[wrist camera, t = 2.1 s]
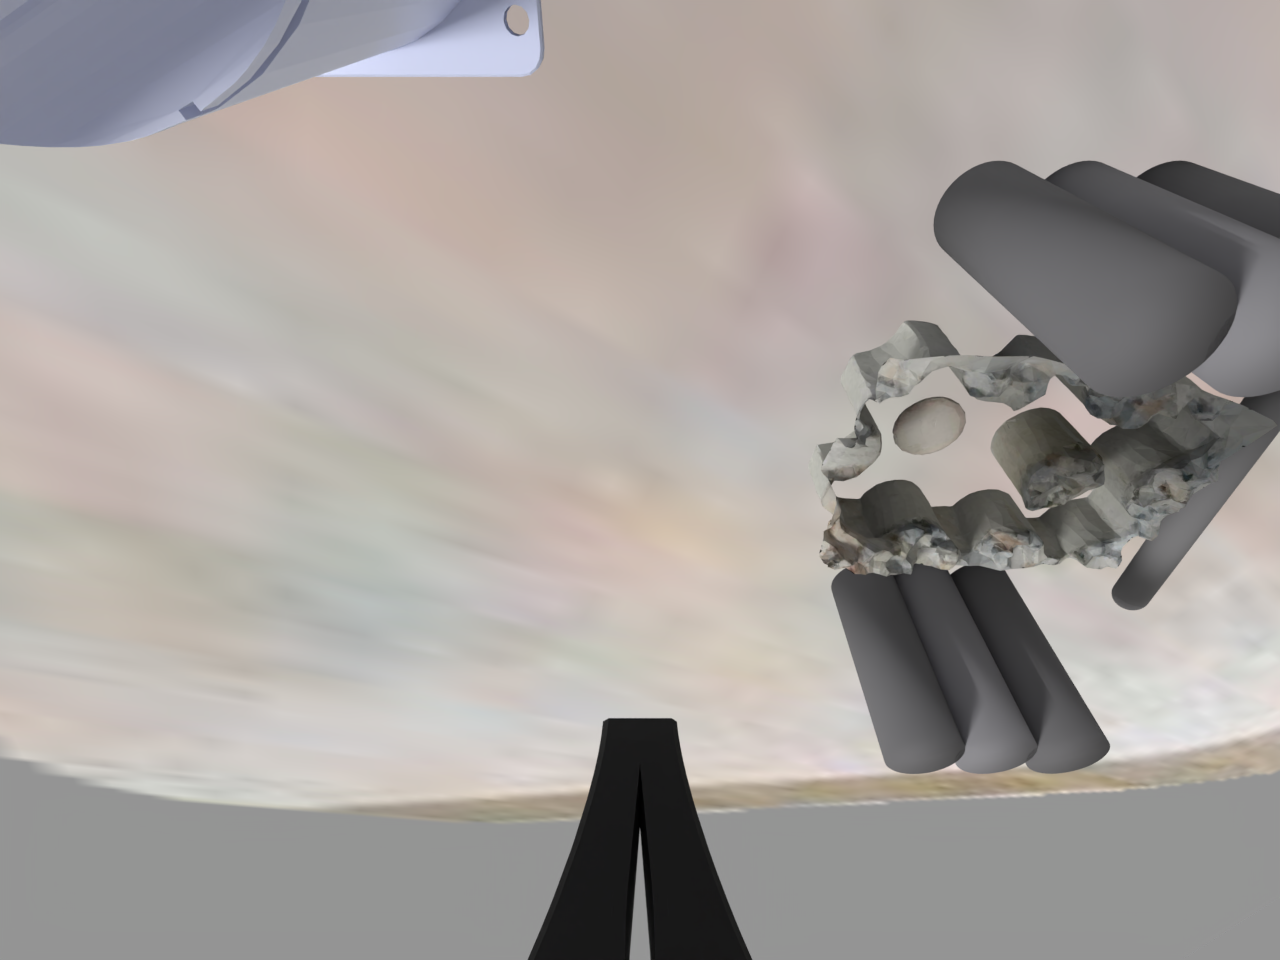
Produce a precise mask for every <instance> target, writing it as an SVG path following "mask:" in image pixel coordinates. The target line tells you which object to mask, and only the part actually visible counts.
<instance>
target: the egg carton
mask: <svg viewBox="0 0 1280 960" xmlns="http://www.w3.org/2000/svg"><path fill="white" fill-rule="evenodd" d="M945 367H949V368H950V369H951V370H952V372H953V373H954V374H955V376H956V377H957V378H958V379H959V380H960V382H961V383H962V385H963V386H964V388H965V389H966V391H967V392H968V393H969V395H970V396H972V397H975V398H976V399H977V400H981V401H987V402H997V403H1004V404H1006V405H1007V406H1009V407H1011V408H1012V410H1013V411H1016V410H1020V409H1021V408H1023V407H1025V406H1026V405H1028V404H1030V403H1032V402H1033V401H1035V400H1037V399H1039V398H1040V397H1042V396H1044V395H1045V394H1046V390H1047V386H1048V383H1049V381H1050V379H1051V378H1052V377H1054V376H1056V377H1057V378H1058V379H1059V380H1060V381H1061V382H1062V383H1063V384H1064V385H1065V386H1066V387H1067V388H1068V389H1069V390H1070V391H1071V392H1072V393H1073V394H1074V395H1075V396H1076V397H1077V398H1078V399H1079V401H1080V402H1081V403H1082V404H1084V406H1085V408H1086V409H1087V411H1088V412H1089V413H1090V415H1092V416H1094V417H1096V418H1098V419H1102V420H1104V421H1105V422H1107V423H1108V424H1109V425H1116V426H1115V427H1113V428H1111V429H1109V430H1107V431H1105V432H1103V433H1102V434H1101V435H1100V436H1099V437H1097V438H1096V439H1095V440H1094V441H1093V443H1092V444H1091V445H1090V444H1089V443H1088V442H1087V441H1086V440H1085V439H1084V438H1083V436H1082V435H1081V434H1080V433H1079V432H1078V431H1077V430H1076V429H1075V428H1074V427H1073V426H1072V425H1071V424H1070V423H1069V422H1068V421H1067V420H1066V419H1065V418H1064V417H1063V416H1062V414H1061V413H1059V412H1058V411H1056V410H1054V409H1050V408H1043V407H1040V408H1034V409H1030V410H1027V411H1024V412H1021V413H1019V414H1017V415H1015V416H1013V417H1012V418H1010V419H1008V420H1006V421H1005V422H1004V423H1003V424H1002V425H1001V426H1000V427H999V428H998V429H997V431H996V432H995V434H994V436H993V438H992V441H991V447H990V449H991V452H992V454H993V456H994V457H995V459H996V460H997V462H998V463H999V464H1000V466H1001V467H1002V469H1003V470H1004V472H1005V473H1006V475H1007V476H1008V478H1009V479H1010V480H1011V482H1012V483H1013V485H1014V486H1015V488H1016V489H1017V491H1018V492H1019V494H1020V495H1021V497H1022V500H1023V503H1024V505H1025V508H1026V509H1027V510H1030V511H1035V510H1039V509H1042V508H1049V509H1048V510H1047V511H1046V512H1045V513H1043V514H1042V515H1041V516H1040V517H1035V518H1026V517H1025V516H1024V514H1023V513H1022V512H1021V510H1020V509H1019V507H1018V506H1017V504H1016V503H1015V502H1014V500H1013V499H1012V497H1011V496H1010V495H1009V494H1008V493H1006V492H1003V491H1001V490H997V489H987V490H980V491H976V492H973V493H970V494H968V495H967V496H965V497H963V498H962V499H960V500H959V501H958V502H956V503H955V504H954V505H953V506H935V507H931V505H930V503H929V501H928V500H927V498H926V497H925V495H924V494H923V492H922V491H921V489H920V488H919V487H918V486H917V485H916V484H914V483H913V482H911V481H907V480H891V481H885V482H882V483H879V484H876V485H875V486H874V487H872V488H871V489H869V490H868V491H866V492H865V493H864V494H863V495H862V496H861V498H859V499H851V498H840V497H837V496H836V494H835V492H834V490H833V488H832V486H831V485H832V484H833V482H834V481H846V480H849V479H852V478H855V477H858V476H859V475H860V474H861V473H862V472H863V471H865V470H866V469H867V468H868V467H869V466H871V465H872V464H873V463H874V462H875V461H876V459H877V458H878V457H879V456H880V454H881V449H882V437H881V432H880V431H879V429H878V427H877V425H876V423H875V421H874V419H873V417H872V415H871V413H870V412H869V410H868V408H867V406H866V404H865V403H866V402H867V401H868V400H869V399H871V400H873V401H875V402H877V403H879V404H880V403H881V402H882V401H884V400H886V399H888V398H892V397H902V396H905V395H908V394H909V393H910V392H911V390H912V389H913V387H914V386H915V385H917V384H919V383H920V382H921V381H922V380H923V379H924V378H925V377H926V376H927V375H929V374H930V373H931V372H932V371H935V370H938V369H941V368H945ZM841 384H842V386H843V388H844V390H845V391H846V393H847V395H848V398H849V400H850V403H851V405H852V406H853V408H854V410H855V412H856V415H857V417H856V421H855V426H854V431H853V432H852V433H851V434H849V435H848V436H846V437H845V438H837V439H836V441H835V442H832V443H825V444H819V445H817V446H816V448H815V450H814V452H813V455H812V457H811V460H810V462H809V465H808V468H809V471H810V474H811V477H812V479H813V482H814V485H815V488H816V492H817V494H818V496H819V498H820V500H821V504H822V506H823V508H825V509H826V510H827V511H829V512H830V513H831V514H832V515H833V517H832V519H831V520H830V521H828V527H827V529H826V530H825V531H824V537H823V542H822V545H821V549H820V552H819V557H820V558H821V560H822V561H823V563H824V564H826V565H828V567H830V568H832V569H834V570H836V569H841V568H847V569H848V570H849V571H851V572H852V573H853V574H863V575H866V574H868V573H876V574H880V575H883V576H886V577H887V576H889V575H897V574H902V573H904V574H910V575H911V573H912V570H913V566H914V564H915V563H917V564H922V565H927V566H932V567H935V568H938V569H943V570H950V569H952V568H953V567H954V566H955V565H961V566H983V567H987V568H991V569H995V570H999V571H1002V570H1009V569H1020V568H1029V567H1035V566H1038V565H1040V564H1047V565H1057V564H1060V563H1061V562H1062V561H1064V560H1065V559H1067V558H1072V559H1076V560H1077V561H1078V562H1079V563H1081V564H1082V565H1083V566H1085V567H1086V568H1092V569H1103V568H1105V567H1111V568H1117V567H1118V566H1119V565H1120V564H1121V562H1122V555H1121V551H1122V547H1123V546H1124V545H1125V544H1126V543H1127V542H1128V541H1130V540H1131V539H1132V538H1133V537H1136V536H1139V537H1142V538H1144V539H1147V540H1150V541H1153V540H1154V539H1155V538H1156V537H1157V536H1158V533H1159V529H1160V525H1161V521H1162V520H1163V518H1164V517H1166V516H1167V515H1170V514H1173V513H1175V512H1179V510H1180V508H1185V507H1186V505H1187V503H1188V501H1189V499H1190V498H1191V497H1192V495H1193V494H1194V493H1195V492H1197V491H1199V490H1201V489H1202V488H1204V487H1206V486H1207V485H1209V484H1210V483H1213V482H1216V481H1218V471H1219V466H1220V462H1221V461H1222V460H1224V459H1226V458H1228V457H1229V456H1231V455H1233V454H1234V453H1236V452H1237V451H1239V450H1241V449H1242V448H1244V447H1246V446H1247V445H1249V444H1251V443H1252V442H1254V441H1255V440H1257V439H1258V438H1260V437H1261V436H1263V435H1264V434H1266V433H1267V432H1269V431H1270V430H1272V429H1273V428H1275V427H1276V426H1277V425H1276V423H1275V422H1274V421H1273V420H1271V419H1269V418H1267V417H1265V416H1263V415H1261V414H1259V413H1257V412H1255V411H1253V410H1251V409H1249V408H1247V407H1245V406H1243V405H1241V404H1238V403H1236V402H1233V401H1230V400H1228V399H1225V398H1222V397H1219V396H1216V395H1213V394H1211V393H1208V392H1206V391H1204V390H1202V389H1201V388H1200V387H1199V386H1197V385H1196V384H1195V383H1194V382H1193V381H1192V380H1190V379H1189V378H1187V377H1186V376H1185V377H1183V378H1182V379H1180V380H1179V381H1177V382H1175V383H1173V384H1171V385H1169V386H1167V387H1164V388H1162V389H1160V390H1157V391H1154V392H1151V393H1148V394H1144V395H1140V396H1133V397H1111V396H1106V395H1103V394H1100V393H1098V392H1096V391H1094V390H1092V389H1091V388H1090V387H1089V386H1088V385H1086V384H1085V383H1084V382H1083V381H1082V380H1081V379H1080V378H1079V377H1078V376H1077V375H1076V374H1075V373H1074V372H1073V371H1072V370H1071V369H1069V368H1068V367H1067V366H1066V365H1065V364H1064V363H1063V362H1062V361H1061V360H1060V359H1059V358H1058V357H1057V356H1056V355H1055V354H1053V353H1052V352H1051V351H1050V350H1049V349H1048V348H1047V347H1046V346H1045V345H1044V344H1043V343H1042V342H1041V341H1040V340H1039V339H1037V338H1036V337H1035V336H1030V335H1016V336H1015V337H1014V338H1013V339H1012V340H1011V341H1010V342H1009V343H1008V344H1007V345H1006V346H1005V347H1004V348H1003V349H1002V350H1001V351H1000V352H999V353H997V354H995V355H994V356H992V357H991V356H974V355H960V354H959V352H958V351H957V349H956V348H955V347H954V346H953V345H952V344H951V342H950V341H949V339H948V338H947V336H946V335H945V334H944V333H943V332H942V330H941V329H940V328H939V326H938V325H936V324H933V323H929V322H923V321H914V320H908V321H904V322H903V323H902V325H901V326H900V327H899V329H898V330H897V332H896V333H895V335H894V336H893V337H891V338H890V339H889V340H888V341H887V342H886V343H884V344H883V345H881V346H879V347H877V348H874V349H872V350H870V351H865V352H860V353H855V354H854V355H853V356H851V358H850V360H849V362H848V364H847V366H846V368H845V371H844V372H843V374H842V376H841ZM965 423H966V417H965V411H964V410H963V408H962V407H961V406H960V404H959V403H957V402H956V401H954V400H952V399H950V398H947V397H941V396H940V397H930V398H925V399H923V400H920V401H918V402H916V403H914V404H912V405H911V406H909V407H908V408H906V409H905V410H904V411H903V412H902V413H901V414H900V415H899V416H898V418H897V420H896V421H895V423H894V427H893V431H892V432H893V434H894V435H893V438H894V442H895V444H896V445H897V446H898V447H899V448H900V449H901V450H902V451H905V452H907V453H910V454H913V455H925V454H931V453H934V452H937V451H939V450H942V449H944V448H945V447H947V446H949V445H950V444H951V443H953V442H954V441H955V440H956V439H957V438H958V437H959V436H960V434H961V433H962V432H963V429H964V426H965ZM1092 489H1093V490H1092ZM1089 490H1092V492H1091V493H1090V494H1089V495H1088V496H1087V497H1085V498H1079V499H1074V498H1076V497H1078V496H1080V495H1082V494H1083V493H1085V492H1087V491H1089ZM1072 499H1073V500H1072Z"/></svg>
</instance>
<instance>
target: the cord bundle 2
mask: <svg viewBox="0 0 1280 960" xmlns="http://www.w3.org/2000/svg"><path fill="white" fill-rule="evenodd" d="M933 226H934V234H935V238H936V241H937V242H938V244H939V246H940V247H941V248H942V249H943V250H944V251H945V252H946V253H947V254H948V255H949V256H950V257H951V258H952V259H953V260H954V261H955V262H956V263H958V264H959V265H960V266H961V267H962V268H963V269H964V270H965V271H966V272H967V273H968V274H969V275H970V276H971V277H972V278H974V279H975V280H976V281H977V282H978V283H979V284H980V285H981V286H982V287H983V288H984V289H985V290H986V291H987V292H988V293H989V294H991V295H992V296H993V297H994V298H995V299H996V300H997V301H998V302H999V303H1000V304H1001V305H1002V306H1003V307H1004V308H1005V309H1007V310H1008V311H1009V312H1010V313H1011V314H1012V315H1013V316H1014V317H1015V318H1016V319H1017V320H1018V321H1019V322H1020V323H1021V324H1023V325H1024V326H1025V327H1026V328H1027V329H1028V330H1029V331H1030V332H1031V333H1032V334H1033V335H1034V336H1035V337H1036V338H1037V339H1039V340H1040V341H1041V342H1042V343H1043V344H1044V345H1045V346H1046V347H1047V348H1048V349H1049V350H1050V351H1051V352H1052V353H1053V354H1055V355H1056V356H1057V357H1058V358H1059V359H1060V360H1061V361H1062V362H1063V363H1064V364H1065V365H1066V366H1067V367H1068V368H1069V369H1071V370H1072V371H1073V372H1074V373H1075V374H1076V375H1077V376H1078V377H1079V378H1080V379H1081V380H1082V381H1083V382H1084V383H1085V384H1086V385H1088V386H1089V387H1090V388H1091V389H1092V390H1094V391H1096V392H1098V393H1100V394H1103V395H1106V396H1111V397H1133V396H1140V395H1144V394H1148V393H1151V392H1154V391H1157V390H1160V389H1162V388H1164V387H1167V386H1169V385H1171V384H1173V383H1175V382H1177V381H1179V380H1180V379H1182V378H1183V377H1185V376H1187V375H1188V374H1190V373H1191V372H1192V373H1193V374H1194V375H1196V376H1197V377H1198V378H1200V379H1201V380H1202V381H1204V382H1205V383H1207V384H1208V385H1209V386H1211V387H1212V388H1213V389H1215V390H1216V391H1218V392H1220V393H1222V394H1225V395H1228V396H1233V397H1254V396H1260V395H1265V394H1269V393H1272V392H1276V391H1279V390H1280V194H1279V193H1276V192H1273V191H1270V190H1268V189H1265V188H1262V187H1259V186H1256V185H1254V184H1251V183H1248V182H1245V181H1242V180H1240V179H1237V178H1234V177H1231V176H1228V175H1226V174H1223V173H1220V172H1217V171H1214V170H1212V169H1209V168H1206V167H1203V166H1201V165H1198V164H1195V163H1192V162H1188V161H1180V160H1179V161H1170V162H1166V163H1162V164H1159V165H1157V166H1154V167H1152V168H1150V169H1148V170H1147V171H1145V172H1143V173H1142V174H1140V175H1139V176H1137V177H1134V176H1132V175H1130V174H1127V173H1125V172H1123V171H1120V170H1118V169H1116V168H1113V167H1111V166H1109V165H1106V164H1104V163H1102V162H1098V161H1080V162H1075V163H1072V164H1069V165H1067V166H1065V167H1062V168H1061V169H1059V170H1057V171H1055V172H1054V173H1052V174H1051V175H1050V176H1048V177H1047V178H1046V179H1043V178H1041V177H1039V176H1037V175H1035V174H1033V173H1031V172H1029V171H1028V170H1026V169H1024V168H1022V167H1020V166H1018V165H1016V164H1014V163H1011V162H1007V161H990V162H985V163H982V164H979V165H977V166H975V167H973V168H971V169H969V170H968V171H966V172H965V173H963V174H962V175H960V176H959V177H958V178H957V179H956V180H955V181H954V182H953V183H952V184H951V185H950V186H949V187H948V189H947V190H946V191H945V193H944V194H943V196H942V198H941V199H940V201H939V204H938V206H937V209H936V212H935V216H934V224H933Z"/></svg>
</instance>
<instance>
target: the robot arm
mask: <svg viewBox="0 0 1280 960" xmlns="http://www.w3.org/2000/svg"><path fill="white" fill-rule="evenodd" d="M512 5H518V6H521V7H522V8H523V9H524V10H525V11H526V12H527V15H528V18H529V27H528V30H527V31H526V32H525V33H524V34H522V35H520V34H517V33H514V32H513V31H512V30H511V29H510V28H509V26H508V23H507V20H506V19H507V11H508V10H509V8H510V7H511V6H512ZM544 49H545V47H544V34H543V21H542V8H541V0H0V144H6V145H18V146H34V147H89V146H102V145H108V144H114V143H121V142H127V141H131V140H135V139H139V138H143V137H147V136H149V135H152V134H155V133H158V132H161V131H164V130H167V129H169V128H171V127H174V126H176V125H179V124H181V123H184V122H187V121H190V120H193V119H195V118H198V117H201V116H204V115H207V114H210V113H213V112H216V111H218V110H221V109H224V108H227V107H230V106H233V105H236V104H238V103H241V102H244V101H247V100H250V99H253V98H256V97H259V96H261V95H264V94H267V93H270V92H273V91H276V90H279V89H281V88H284V87H287V86H290V85H293V84H296V83H299V82H301V81H304V80H307V79H310V78H313V77H524V76H528V75H531V74H532V73H534V72H535V71H536V70H537V69H538V68H539V67H540V65H541V63H542V61H543V59H544ZM639 834H641V846H642V859H643V872H644V884H645V897H646V909H647V922H648V934H649V947H650V960H752V958H751V955H750V953H749V951H748V948H747V946H746V944H745V941H744V939H743V937H742V934H741V932H740V930H739V927H738V925H737V922H736V920H735V917H734V915H733V912H732V910H731V907H730V905H729V902H728V900H727V897H726V895H725V892H724V889H723V887H722V884H721V881H720V879H719V876H718V874H717V871H716V868H715V865H714V862H713V860H712V857H711V854H710V851H709V848H708V845H707V842H706V839H705V836H704V833H703V830H702V827H701V824H700V820H699V817H698V814H697V811H696V808H695V804H694V801H693V797H692V794H691V790H690V786H689V782H688V778H687V775H686V770H685V766H684V762H683V757H682V752H681V747H680V741H679V735H678V727H677V721H675V720H674V719H672V718H608V719H606V720H605V721H603V726H602V734H601V741H600V746H599V752H598V757H597V761H596V766H595V770H594V774H593V778H592V782H591V786H590V790H589V793H588V797H587V801H586V804H585V807H584V810H583V813H582V817H581V820H580V823H579V826H578V829H577V833H576V836H575V839H574V842H573V845H572V848H571V851H570V854H569V856H568V859H567V862H566V865H565V867H564V870H563V873H562V875H561V878H560V881H559V884H558V886H557V889H556V892H555V894H554V897H553V900H552V902H551V905H550V907H549V910H548V912H547V915H546V917H545V920H544V922H543V925H542V927H541V929H540V932H539V934H538V936H537V939H536V941H535V943H534V946H533V948H532V950H531V953H530V955H529V957H528V960H630V947H631V934H632V922H633V909H634V897H635V884H636V872H637V859H638V846H639Z"/></svg>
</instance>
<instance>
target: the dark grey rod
mask: <svg viewBox="0 0 1280 960" xmlns="http://www.w3.org/2000/svg"><path fill="white" fill-rule="evenodd" d="M1240 404H1241V405H1243V406H1245V407H1247V408H1249V409H1251V410H1253V411H1255V412H1257V413H1259V414H1261V415H1263V416H1265V417H1267V418H1269V419H1271V420H1273V421H1274V422H1275V423H1276V425H1277V426H1276V427H1275V428H1273V429H1272V430H1270V431H1269V432H1267V433H1266V434H1264V435H1263V436H1261V437H1260V438H1258V439H1257V440H1255V441H1254V442H1252V443H1251V444H1249V445H1247V446H1246V447H1244V448H1242V449H1241V450H1239V451H1237V452H1236V453H1234V454H1233V455H1231V456H1229V457H1228V458H1226V459H1224V460H1222V461H1221V462H1220V466H1219V471H1218V481H1216V482H1213V483H1210V484H1209V485H1207V486H1206V487H1204V488H1202V489H1201V490H1199V491H1197V492H1195V493H1194V494H1193V495H1192V497H1191V498H1190V499H1189V501H1188V503H1187V505H1186V507H1185V508H1180V510H1179V512H1175V513H1173V514H1170V515H1167V516H1166V517H1164V518H1163V520H1162V521H1161V525H1160V529H1159V533H1158V536H1157V537H1156V538H1155V539H1154V540H1153V541H1150V540H1147V539H1146V540H1145V541H1144V543H1143V544H1142V546H1141V547H1140V549H1139V550H1138V551H1137V553H1136V554H1135V556H1134V557H1133V559H1132V560H1131V562H1130V563H1129V564H1128V566H1127V567H1126V569H1125V570H1124V572H1123V573H1122V575H1121V576H1120V577H1119V579H1118V580H1117V582H1116V583H1115V585H1114V586H1113V588H1112V592H1111V593H1112V598H1113V600H1114V602H1115V603H1116V604H1117V605H1118V606H1120V607H1122V608H1124V609H1127V610H1139V609H1142V608H1144V607H1145V606H1147V605H1148V603H1149V602H1150V601H1151V599H1152V598H1153V597H1154V595H1155V594H1156V593H1157V592H1158V590H1159V589H1160V588H1161V586H1162V585H1163V584H1164V582H1165V581H1166V580H1167V578H1168V577H1169V576H1170V575H1171V573H1172V572H1173V571H1174V569H1175V568H1176V567H1177V565H1178V564H1179V563H1180V561H1181V560H1182V559H1183V557H1184V556H1185V555H1186V554H1187V552H1188V551H1189V550H1190V548H1191V547H1192V546H1193V544H1194V543H1195V542H1196V540H1197V539H1198V538H1199V537H1200V535H1201V534H1202V533H1203V531H1204V530H1205V529H1206V527H1207V526H1208V525H1209V523H1210V522H1211V521H1212V519H1213V518H1214V517H1215V516H1216V514H1217V513H1218V512H1219V510H1220V509H1221V508H1222V506H1223V505H1224V504H1225V502H1226V501H1227V500H1228V498H1229V497H1230V496H1231V495H1232V493H1233V492H1234V491H1235V489H1236V488H1237V487H1238V485H1239V484H1240V483H1241V481H1242V480H1243V479H1244V478H1245V476H1246V475H1247V474H1248V472H1249V471H1250V470H1251V468H1252V467H1253V466H1254V464H1255V463H1256V462H1257V460H1258V459H1259V458H1260V457H1261V455H1262V454H1263V453H1264V451H1265V450H1266V449H1267V447H1268V446H1269V445H1270V443H1271V442H1272V441H1273V440H1274V438H1275V437H1276V436H1277V434H1278V433H1279V432H1280V390H1279V391H1276V392H1272V393H1269V394H1265V395H1260V396H1254V397H1244V398H1243V400H1242V401H1241V403H1240Z"/></svg>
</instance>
